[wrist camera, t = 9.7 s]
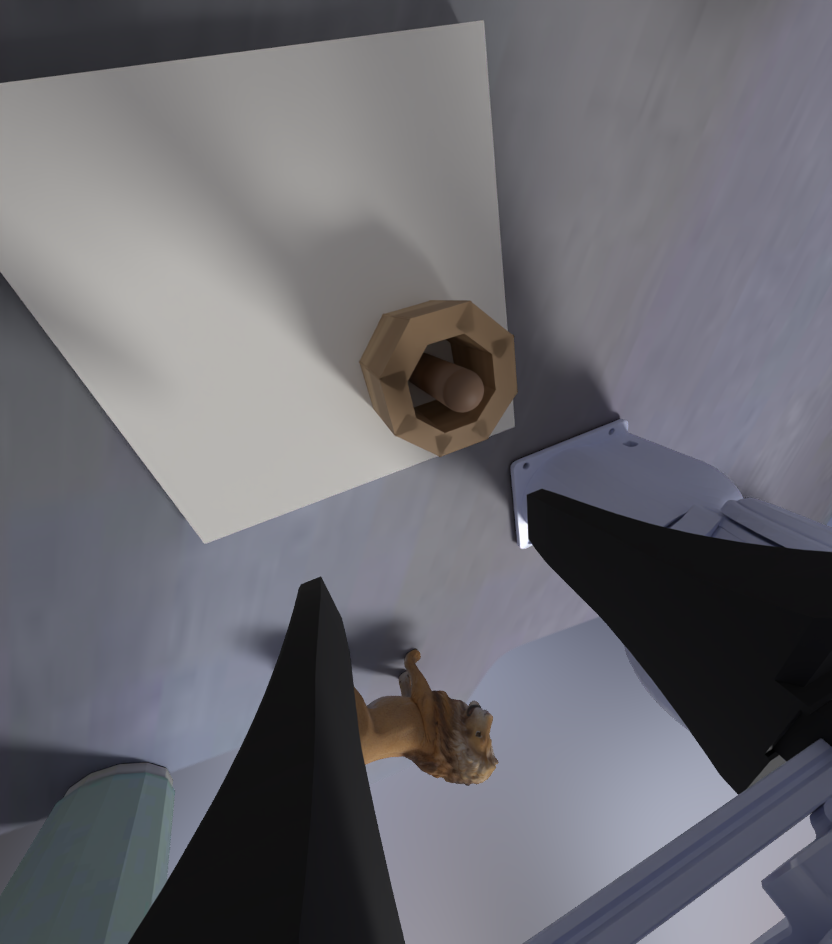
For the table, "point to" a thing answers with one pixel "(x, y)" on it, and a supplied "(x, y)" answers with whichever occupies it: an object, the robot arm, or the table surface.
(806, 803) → the robot arm
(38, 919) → the disposable coffee cup
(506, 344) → the oak bead
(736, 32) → the table surface
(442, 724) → the lion figurine
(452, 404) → the rod
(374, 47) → the white flat rectangular panel
